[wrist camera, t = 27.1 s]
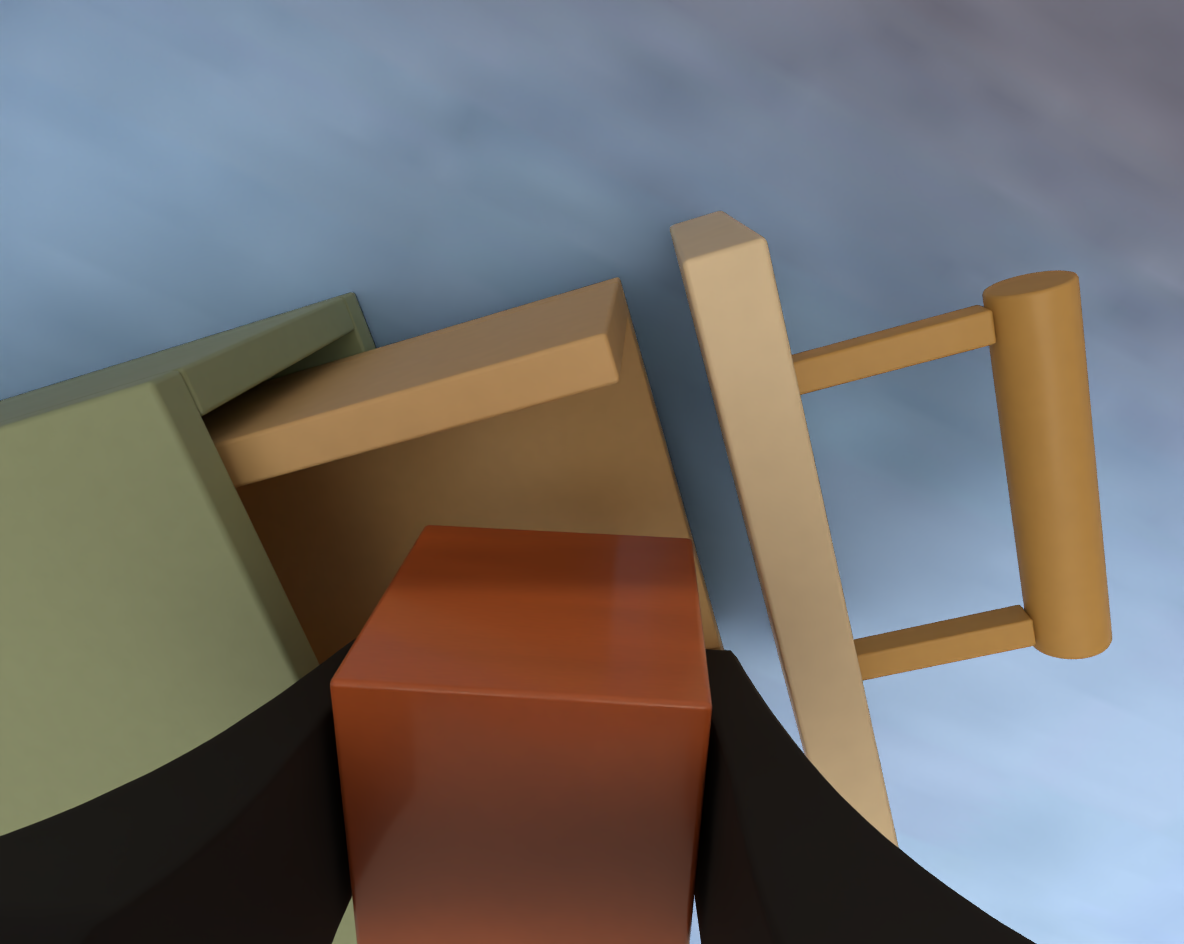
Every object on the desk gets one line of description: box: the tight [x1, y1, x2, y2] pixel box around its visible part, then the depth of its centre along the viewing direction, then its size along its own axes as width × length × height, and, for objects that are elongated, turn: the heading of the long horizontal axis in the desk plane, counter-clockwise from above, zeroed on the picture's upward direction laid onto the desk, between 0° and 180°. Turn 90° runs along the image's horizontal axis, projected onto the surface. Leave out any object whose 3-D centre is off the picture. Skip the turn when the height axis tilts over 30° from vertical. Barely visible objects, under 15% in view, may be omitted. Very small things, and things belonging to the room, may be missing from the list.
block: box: [330, 525, 712, 944], centre depth 12 cm, size 4×4×4 cm
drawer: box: [201, 211, 1112, 848], centre depth 17 cm, size 19×11×7 cm, turn 107°
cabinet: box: [0, 292, 376, 944], centre depth 19 cm, size 16×13×9 cm
